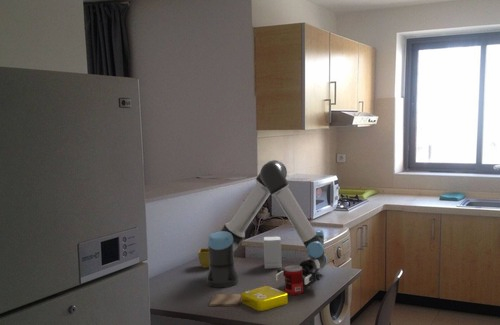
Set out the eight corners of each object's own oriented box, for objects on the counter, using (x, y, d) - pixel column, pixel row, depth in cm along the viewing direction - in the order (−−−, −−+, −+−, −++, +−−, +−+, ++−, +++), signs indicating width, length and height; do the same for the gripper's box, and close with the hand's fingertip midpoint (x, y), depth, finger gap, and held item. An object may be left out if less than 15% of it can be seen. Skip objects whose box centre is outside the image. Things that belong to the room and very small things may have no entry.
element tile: (290, 303, 198) (289, 292, 197) (260, 312, 189) (260, 300, 189) (268, 294, 210) (267, 283, 210) (239, 302, 201) (239, 291, 201)
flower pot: (215, 268, 253) (214, 252, 252) (198, 269, 253) (197, 252, 253) (216, 264, 262) (216, 248, 261) (200, 264, 262) (200, 248, 261)
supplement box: (282, 268, 249) (281, 239, 248) (264, 269, 249) (263, 240, 248) (281, 263, 258) (280, 236, 257) (264, 264, 258) (263, 236, 257)
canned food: (305, 290, 213) (304, 265, 212) (299, 296, 205) (298, 270, 205) (289, 288, 216) (288, 264, 215) (282, 294, 209) (281, 269, 208)
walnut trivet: (209, 305, 198) (209, 304, 198) (213, 296, 210) (213, 294, 210) (238, 305, 197) (238, 303, 197) (241, 295, 209) (241, 294, 209)
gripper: (335, 277, 220) (318, 291, 201) (285, 272, 232) (265, 284, 214) (334, 261, 220) (317, 274, 201) (284, 256, 232) (264, 268, 213)
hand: (290, 279), depth 207 cm, fingers open, 13 cm apart
